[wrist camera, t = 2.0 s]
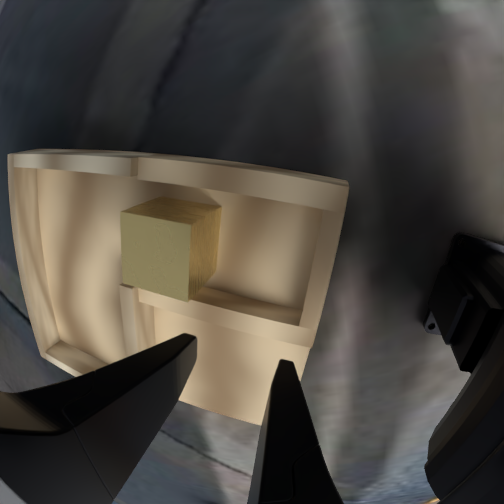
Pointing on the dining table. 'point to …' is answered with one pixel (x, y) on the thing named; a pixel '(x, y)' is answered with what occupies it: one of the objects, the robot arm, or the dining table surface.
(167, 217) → the brass block
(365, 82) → the dining table surface
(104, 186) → the oak slot board
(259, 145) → the dining table surface
